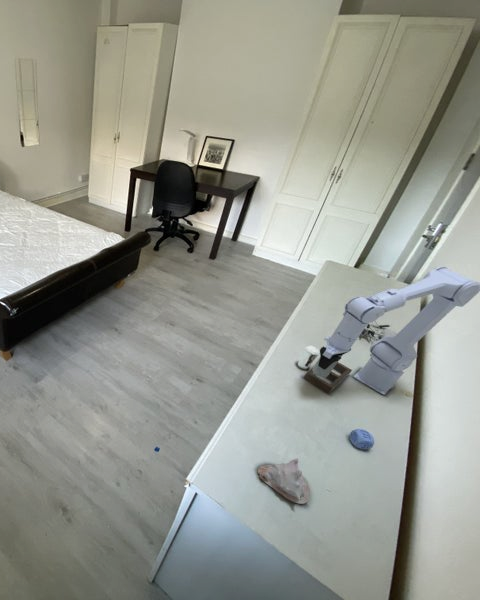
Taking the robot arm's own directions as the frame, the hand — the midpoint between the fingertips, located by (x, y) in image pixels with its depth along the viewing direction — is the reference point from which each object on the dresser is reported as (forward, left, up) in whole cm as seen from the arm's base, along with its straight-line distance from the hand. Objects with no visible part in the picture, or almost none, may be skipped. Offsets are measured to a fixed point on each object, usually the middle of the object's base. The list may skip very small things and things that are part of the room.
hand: (325, 364), depth 106 cm
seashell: (-12, +42, -11) cm, 45 cm away
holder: (-1, -9, -10) cm, 14 cm away
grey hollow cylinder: (0, 0, -4) cm, 4 cm away
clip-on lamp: (-1, -53, -11) cm, 54 cm away
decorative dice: (-18, +11, -11) cm, 24 cm away
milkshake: (+6, -7, -11) cm, 14 cm away
